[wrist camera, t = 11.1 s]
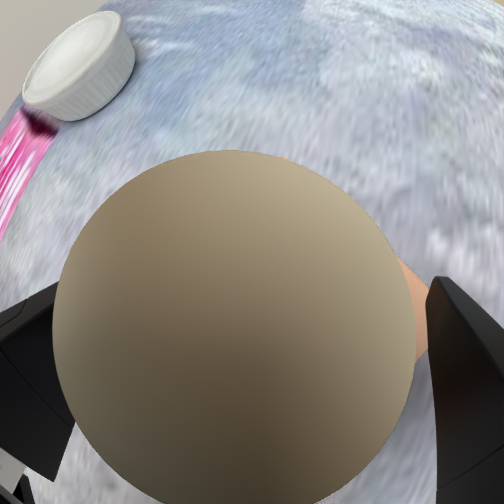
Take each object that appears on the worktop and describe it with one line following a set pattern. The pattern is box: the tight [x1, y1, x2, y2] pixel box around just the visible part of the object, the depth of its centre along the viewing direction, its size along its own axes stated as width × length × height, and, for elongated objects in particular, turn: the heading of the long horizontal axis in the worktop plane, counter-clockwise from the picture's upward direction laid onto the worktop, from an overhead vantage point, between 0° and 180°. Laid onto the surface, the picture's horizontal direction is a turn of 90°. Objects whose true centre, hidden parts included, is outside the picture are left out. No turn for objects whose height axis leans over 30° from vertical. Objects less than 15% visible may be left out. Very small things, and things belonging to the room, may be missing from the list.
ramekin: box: [22, 11, 135, 121], centre depth 21 cm, size 11×11×5 cm
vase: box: [52, 150, 416, 504], centre depth 10 cm, size 5×5×13 cm
